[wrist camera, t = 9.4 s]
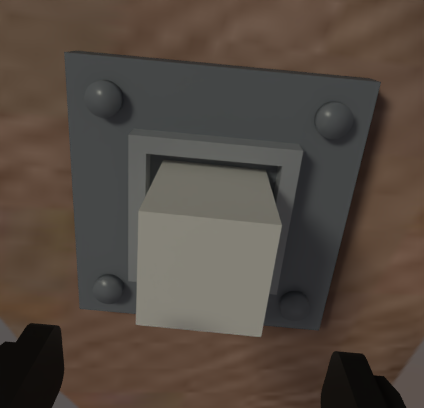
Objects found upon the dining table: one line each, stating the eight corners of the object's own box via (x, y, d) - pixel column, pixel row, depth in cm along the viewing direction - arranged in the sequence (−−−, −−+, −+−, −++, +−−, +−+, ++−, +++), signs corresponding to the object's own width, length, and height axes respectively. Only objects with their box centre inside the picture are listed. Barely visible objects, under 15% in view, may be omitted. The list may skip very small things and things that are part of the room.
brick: (163, 159, 19) (138, 210, 14) (265, 169, 19) (281, 225, 14) (159, 248, 21) (135, 324, 16) (251, 257, 21) (260, 337, 16)
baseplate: (76, 50, 19) (53, 53, 16) (369, 78, 19) (391, 85, 16) (88, 293, 24) (72, 322, 22) (313, 313, 24) (323, 345, 22)
